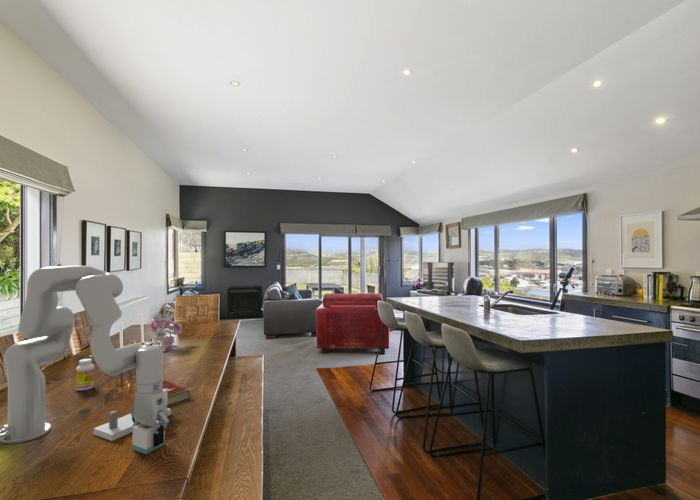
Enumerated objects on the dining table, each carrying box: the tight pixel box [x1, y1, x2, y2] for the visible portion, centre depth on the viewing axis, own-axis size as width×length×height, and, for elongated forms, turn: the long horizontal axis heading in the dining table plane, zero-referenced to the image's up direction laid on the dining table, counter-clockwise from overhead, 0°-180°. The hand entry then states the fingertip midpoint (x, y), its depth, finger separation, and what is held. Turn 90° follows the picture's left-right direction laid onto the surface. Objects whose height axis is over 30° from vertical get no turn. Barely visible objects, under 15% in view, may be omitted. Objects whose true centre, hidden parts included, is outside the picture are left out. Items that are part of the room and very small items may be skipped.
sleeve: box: [131, 420, 166, 455], centre depth 115 cm, size 7×6×7 cm
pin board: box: [93, 407, 172, 442], centre depth 130 cm, size 22×10×7 cm, turn 154°
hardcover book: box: [163, 378, 191, 406], centre depth 155 cm, size 12×21×4 cm, turn 53°
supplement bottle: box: [75, 358, 95, 392], centre depth 164 cm, size 7×7×13 cm
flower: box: [147, 313, 183, 354], centre depth 232 cm, size 20×22×25 cm
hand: (148, 441), depth 115 cm, fingers open, 8 cm apart
